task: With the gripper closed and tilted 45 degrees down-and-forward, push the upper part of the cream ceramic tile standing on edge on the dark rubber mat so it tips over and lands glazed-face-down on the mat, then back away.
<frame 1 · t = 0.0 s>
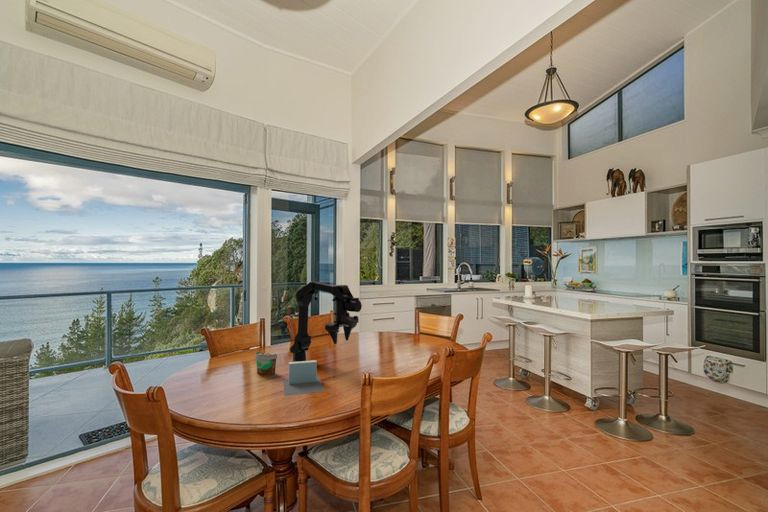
hand: (341, 342, 172), 15 cm above the table, tool pointing down, fingers open, 9 cm apart
tile: (302, 382, 155), resting on mat
food container: (262, 375, 167), on the table
mat: (303, 386, 152), on the table
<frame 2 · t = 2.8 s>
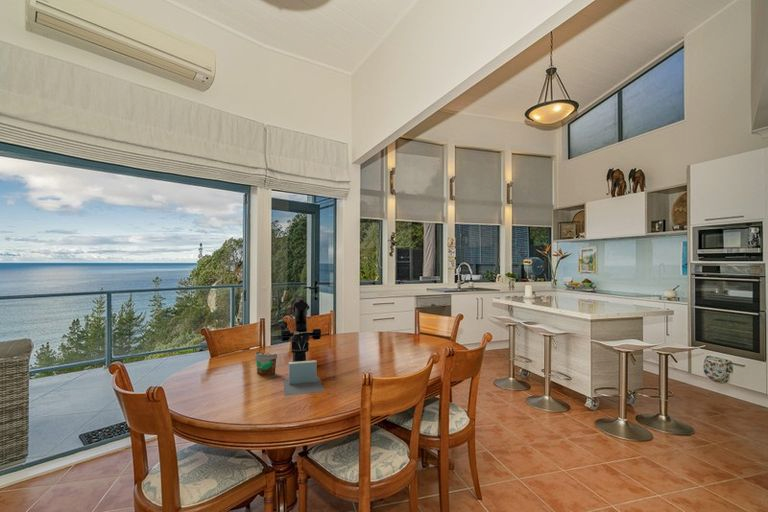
hand: (301, 350, 163), 13 cm above the table, tool tilted 45°, fingers closed
nothing on the table moved.
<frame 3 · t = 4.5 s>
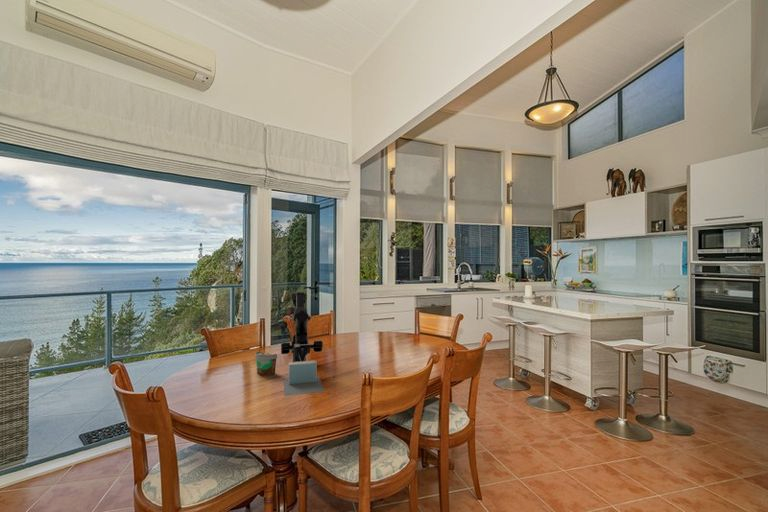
hand: (302, 363, 156), 9 cm above the table, tool tilted 45°, fingers closed
tile: (302, 381, 155), point 1 cm above the table, tilted 7°, touching gripper, mat
everything else where it was.
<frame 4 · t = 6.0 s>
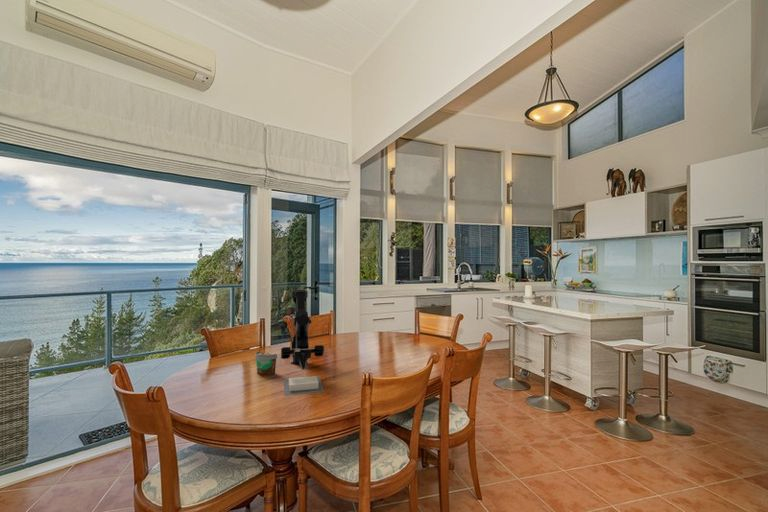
hand: (303, 368, 151), 8 cm above the table, tool tilted 45°, fingers closed
tile: (302, 379, 154), point 2 cm above the table, tilted 90°, touching mat
everything else where it was.
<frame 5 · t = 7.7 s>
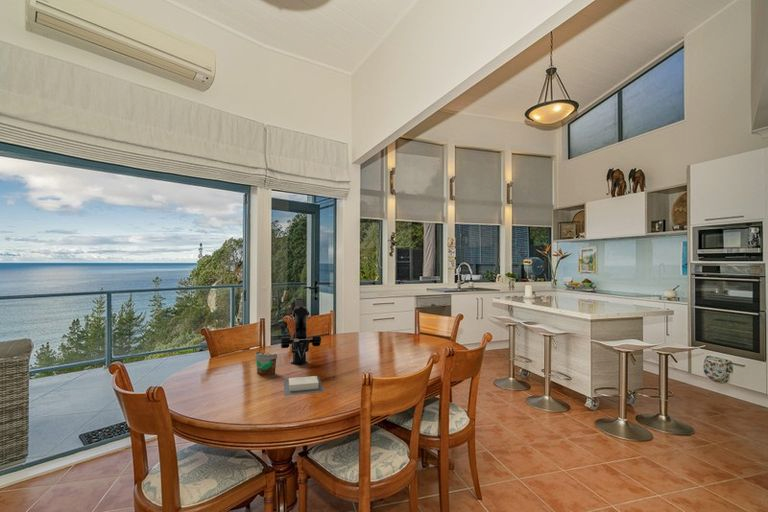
hand: (301, 357, 163), 9 cm above the table, tool tilted 45°, fingers closed
nothing on the table moved.
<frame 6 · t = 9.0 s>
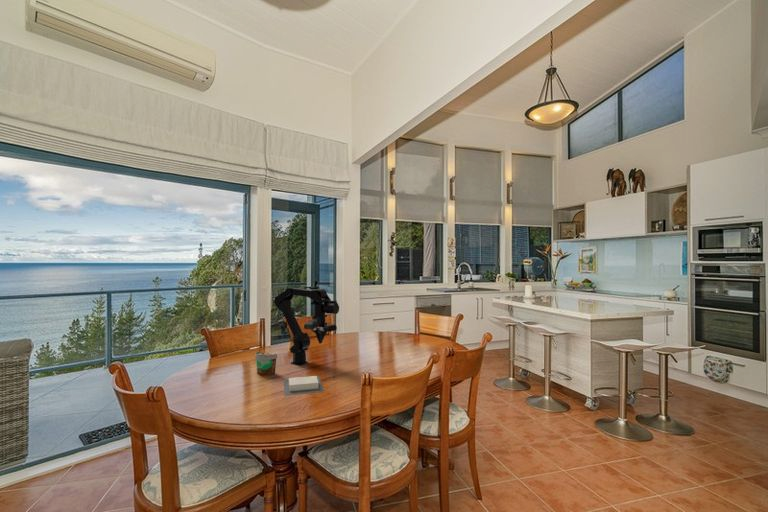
hand: (320, 343, 181), 12 cm above the table, tool pointing down, fingers closed
nothing on the table moved.
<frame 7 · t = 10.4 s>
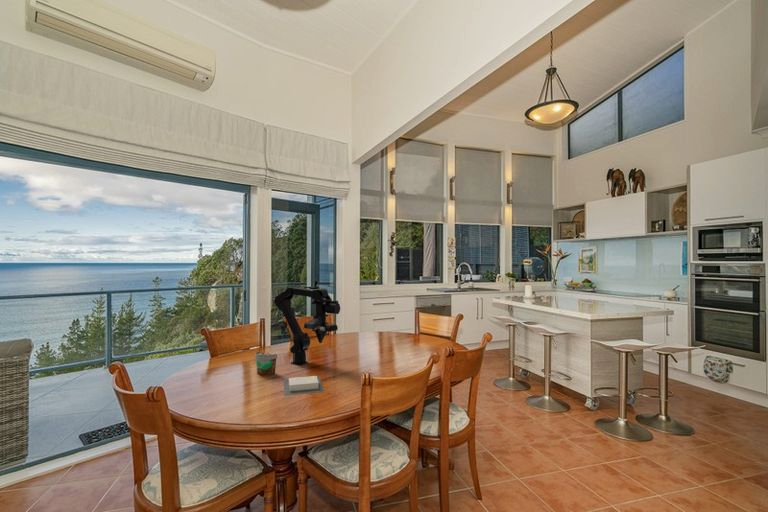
hand: (320, 342, 181), 12 cm above the table, tool pointing down, fingers closed
nothing on the table moved.
at the end: tile tilted 90°; tile 2.6 cm from the mat (horizontally) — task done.
